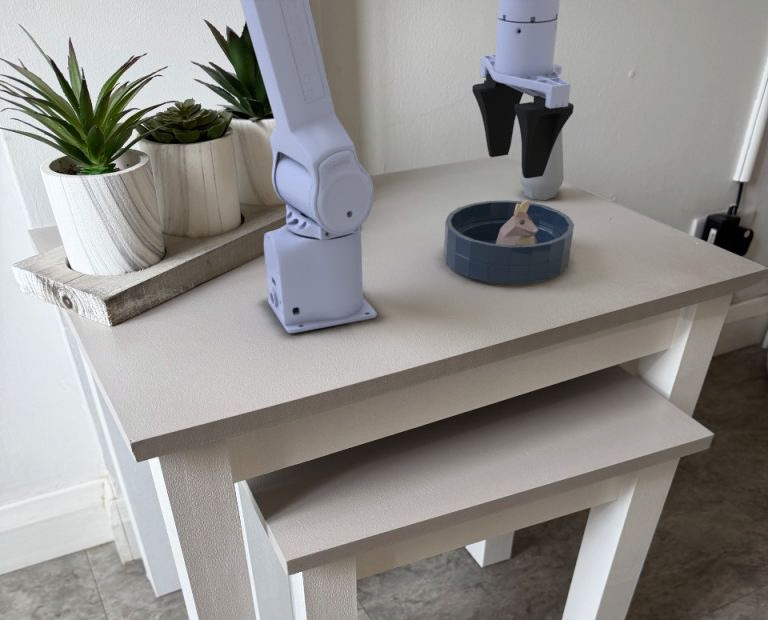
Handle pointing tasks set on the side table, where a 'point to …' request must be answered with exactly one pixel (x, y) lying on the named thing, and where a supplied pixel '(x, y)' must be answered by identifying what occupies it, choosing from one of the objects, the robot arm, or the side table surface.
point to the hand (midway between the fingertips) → (515, 165)
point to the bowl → (506, 262)
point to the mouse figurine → (518, 228)
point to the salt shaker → (547, 176)
